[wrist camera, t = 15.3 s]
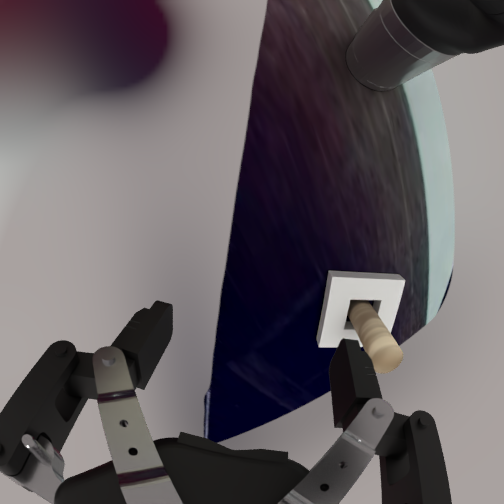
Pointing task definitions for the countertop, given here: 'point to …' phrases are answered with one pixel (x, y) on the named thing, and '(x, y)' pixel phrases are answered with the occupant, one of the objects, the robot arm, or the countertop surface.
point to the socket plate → (356, 288)
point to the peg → (374, 336)
